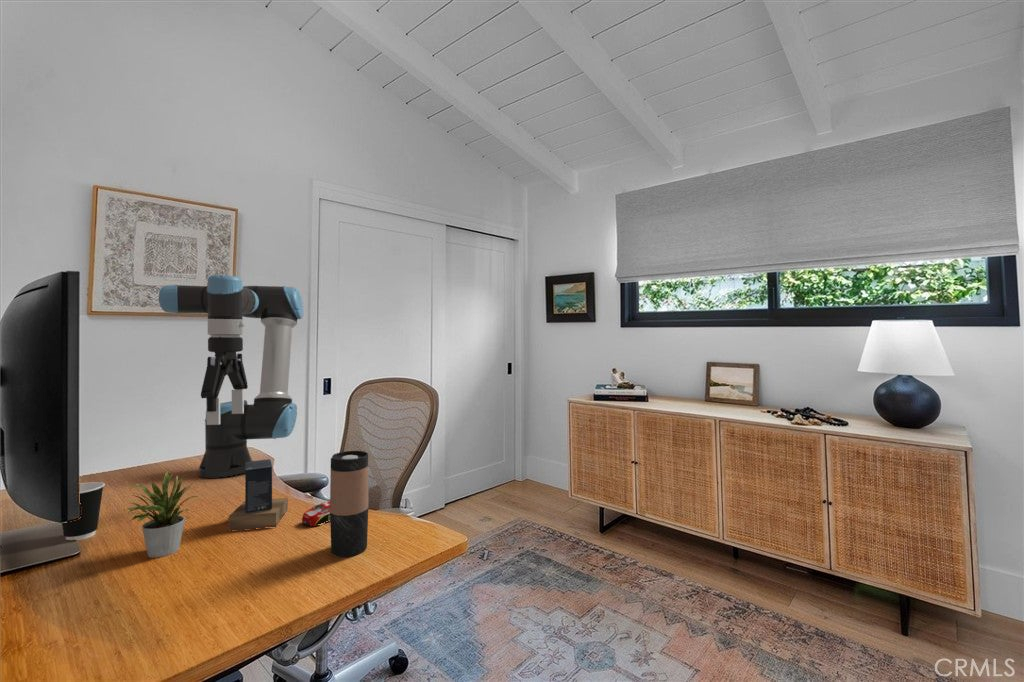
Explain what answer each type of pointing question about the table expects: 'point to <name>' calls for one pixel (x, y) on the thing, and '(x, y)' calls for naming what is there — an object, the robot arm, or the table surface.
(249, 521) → the walnut pedestal
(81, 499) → the dixie cup
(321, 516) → the race car
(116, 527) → the table surface
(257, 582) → the table surface
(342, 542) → the travel mug
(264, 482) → the box
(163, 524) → the house plant
